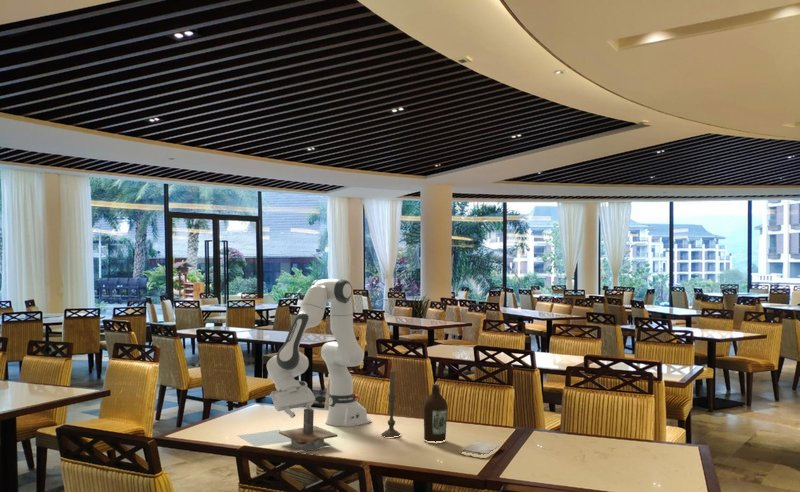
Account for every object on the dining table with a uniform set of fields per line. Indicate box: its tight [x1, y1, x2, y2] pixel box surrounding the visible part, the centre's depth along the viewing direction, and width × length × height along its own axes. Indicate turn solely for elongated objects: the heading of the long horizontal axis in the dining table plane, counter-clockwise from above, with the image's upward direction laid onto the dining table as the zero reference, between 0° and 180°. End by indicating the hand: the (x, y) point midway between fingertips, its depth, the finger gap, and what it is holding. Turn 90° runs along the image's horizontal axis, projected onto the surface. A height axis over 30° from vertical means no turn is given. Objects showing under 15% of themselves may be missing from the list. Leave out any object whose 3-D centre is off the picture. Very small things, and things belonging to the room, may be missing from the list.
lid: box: [279, 407, 338, 443], centre depth 279 cm, size 18×18×11 cm
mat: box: [237, 429, 291, 447], centre depth 289 cm, size 20×20×1 cm
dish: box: [290, 439, 325, 451], centre depth 279 cm, size 14×14×5 cm
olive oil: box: [423, 383, 448, 442], centre depth 291 cm, size 11×11×25 cm
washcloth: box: [460, 441, 501, 455], centre depth 276 cm, size 12×18×3 cm, turn 149°
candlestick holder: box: [380, 369, 401, 438], centre depth 300 cm, size 9×9×30 cm
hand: (301, 415), depth 283 cm, fingers open, 8 cm apart
